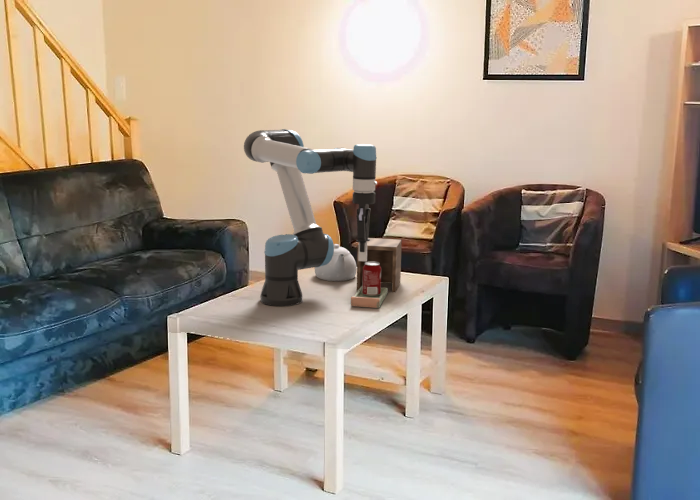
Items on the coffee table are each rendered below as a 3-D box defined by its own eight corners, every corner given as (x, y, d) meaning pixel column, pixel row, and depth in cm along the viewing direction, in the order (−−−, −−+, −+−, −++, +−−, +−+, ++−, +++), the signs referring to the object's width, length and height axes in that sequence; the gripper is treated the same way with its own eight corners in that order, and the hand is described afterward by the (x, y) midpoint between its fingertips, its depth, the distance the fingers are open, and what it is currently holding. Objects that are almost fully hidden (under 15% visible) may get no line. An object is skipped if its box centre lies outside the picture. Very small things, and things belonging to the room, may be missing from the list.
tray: (350, 305, 277) (351, 297, 276) (361, 291, 296) (361, 283, 295) (378, 307, 275) (379, 299, 274) (387, 293, 294) (387, 285, 293)
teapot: (366, 275, 323) (367, 243, 320) (342, 284, 308) (343, 250, 305) (328, 269, 333) (329, 237, 330) (303, 277, 317) (303, 244, 315)
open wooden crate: (356, 289, 300) (357, 244, 296) (363, 280, 314) (364, 237, 310) (395, 292, 297) (396, 247, 293) (400, 283, 311) (401, 239, 308)
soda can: (379, 298, 284) (379, 265, 282) (360, 296, 286) (361, 264, 283) (382, 293, 291) (382, 261, 288) (364, 292, 292) (364, 260, 290)
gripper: (371, 194, 254) (370, 265, 259) (378, 189, 266) (376, 257, 271) (349, 193, 255) (347, 264, 260) (356, 188, 268) (355, 256, 273)
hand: (362, 260), depth 266 cm, fingers closed
